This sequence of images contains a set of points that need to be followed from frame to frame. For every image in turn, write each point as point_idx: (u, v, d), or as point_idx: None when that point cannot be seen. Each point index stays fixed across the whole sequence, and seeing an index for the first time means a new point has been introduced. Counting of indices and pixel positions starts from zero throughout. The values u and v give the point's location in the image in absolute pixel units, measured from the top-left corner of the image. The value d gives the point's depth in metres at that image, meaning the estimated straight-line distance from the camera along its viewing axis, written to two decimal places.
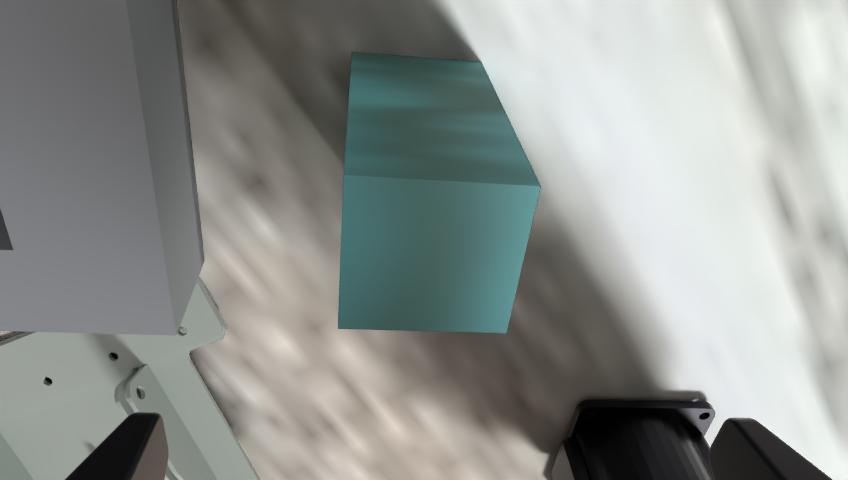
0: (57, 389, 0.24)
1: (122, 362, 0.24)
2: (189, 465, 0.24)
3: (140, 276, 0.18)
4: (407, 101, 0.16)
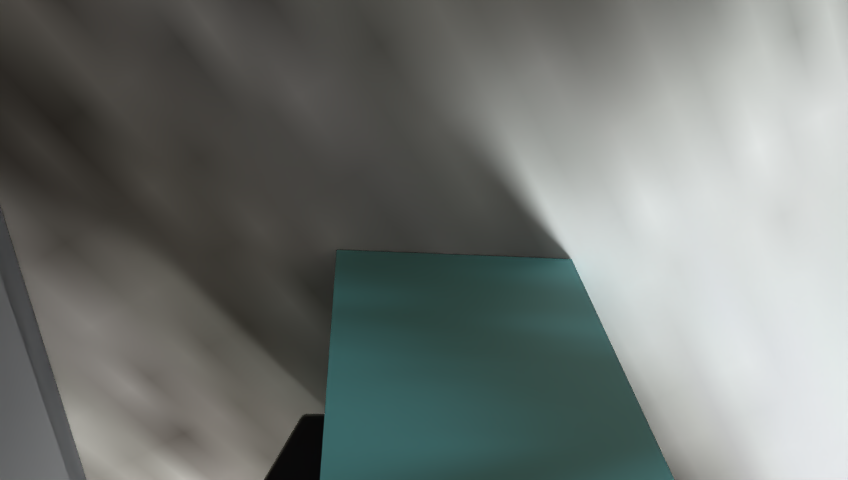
0: None
1: None
2: None
3: None
4: (450, 437, 0.07)
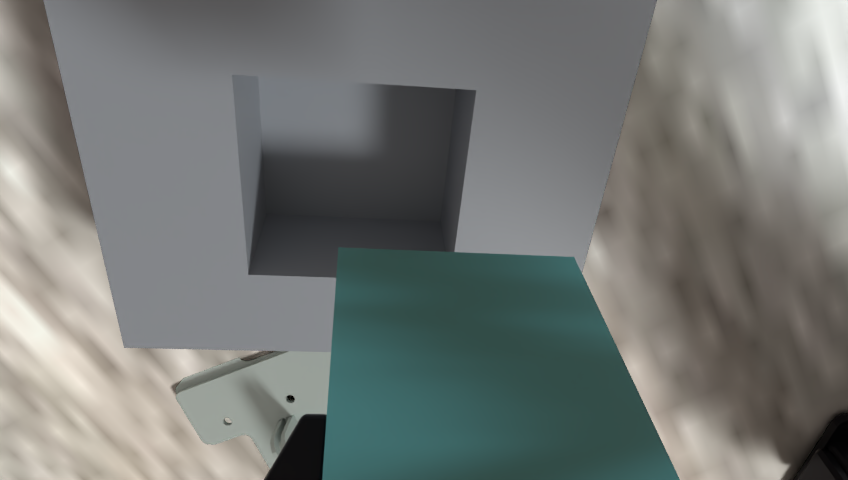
0: None
1: None
2: None
3: None
4: (453, 436, 0.07)
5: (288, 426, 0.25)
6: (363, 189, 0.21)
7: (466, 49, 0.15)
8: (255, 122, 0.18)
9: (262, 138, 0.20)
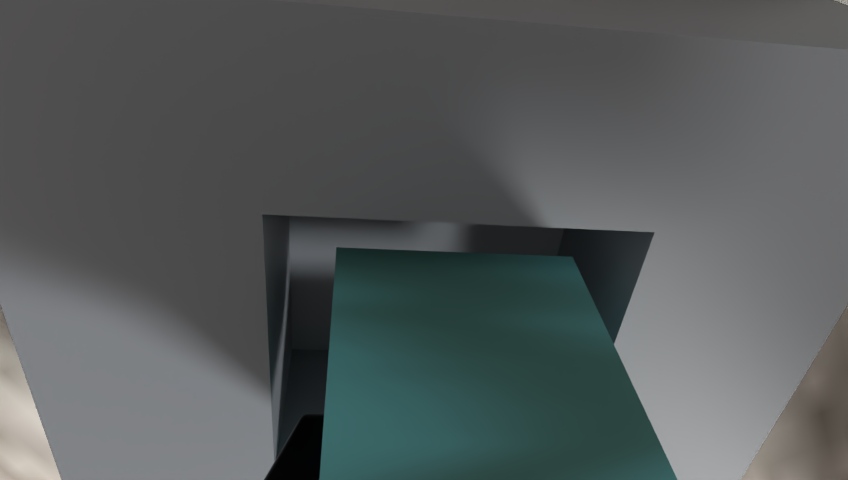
0: None
1: None
2: None
3: None
4: (450, 436, 0.07)
5: None
6: None
7: (652, 173, 0.09)
8: (285, 245, 0.12)
9: (291, 256, 0.14)
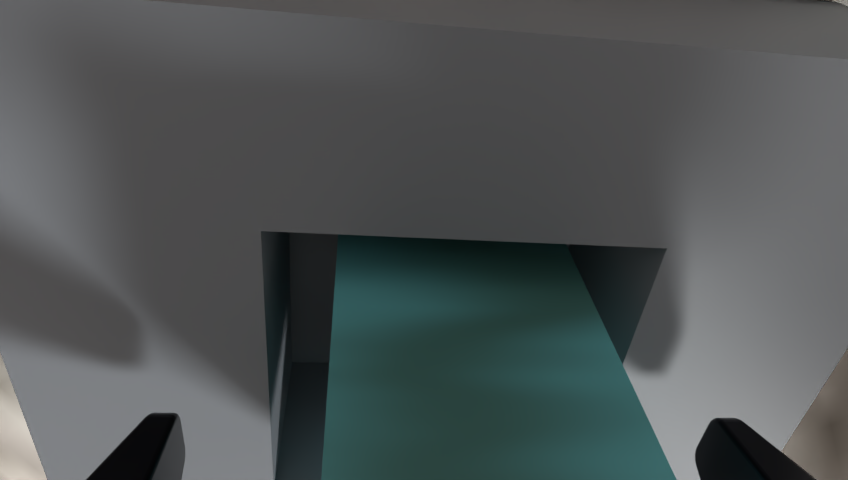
0: None
1: None
2: None
3: None
4: (433, 302, 0.09)
5: None
6: None
7: (664, 189, 0.09)
8: (284, 257, 0.12)
9: (291, 268, 0.13)
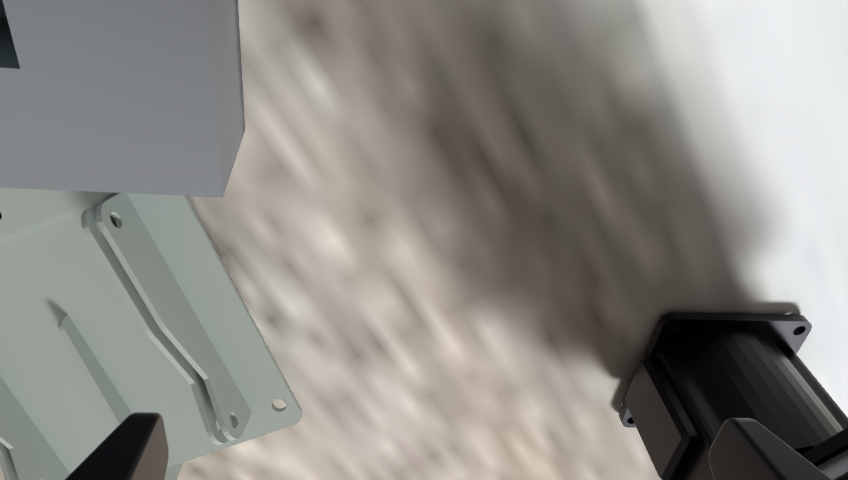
0: (8, 226, 0.19)
1: None
2: (180, 322, 0.19)
3: (181, 110, 0.14)
4: None
5: None
6: None
7: None
8: None
9: None
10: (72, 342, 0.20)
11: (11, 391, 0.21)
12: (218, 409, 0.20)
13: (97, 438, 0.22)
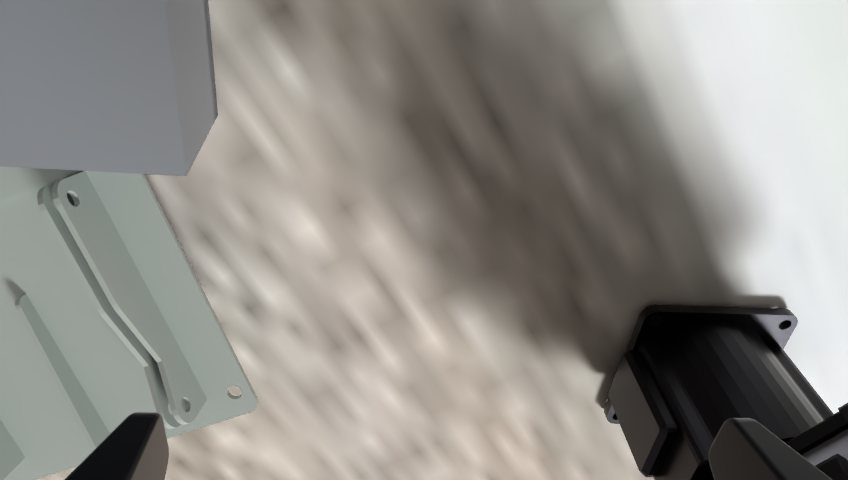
0: None
1: None
2: (135, 303, 0.19)
3: (142, 87, 0.15)
4: None
5: None
6: None
7: None
8: None
9: None
10: (28, 321, 0.20)
11: None
12: (170, 392, 0.20)
13: (52, 420, 0.22)
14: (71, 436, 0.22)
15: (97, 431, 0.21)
